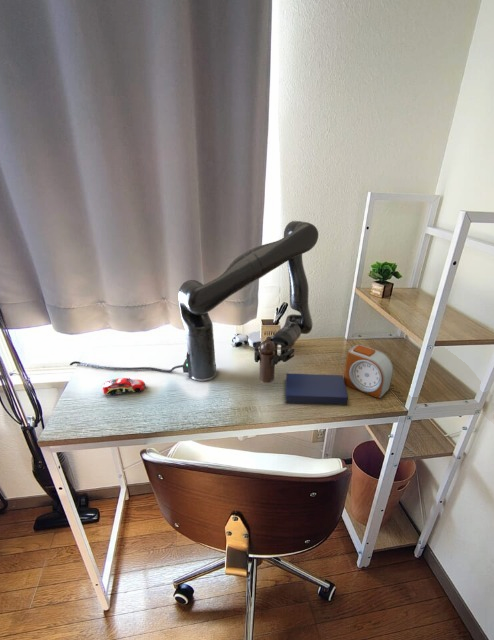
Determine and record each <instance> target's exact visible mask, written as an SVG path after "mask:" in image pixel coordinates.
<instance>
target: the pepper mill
mask: <svg viewBox="0 0 494 640" xmlns="http://www.w3.org/2000/svg"><path fill="white" fill-rule="evenodd" d="M270 339H271V337H270V336H268V337H266V339H265V341H263V342H262V343H261V346H259V348H258V349H259V350H260V360H259V370H258V371H259V373H258V374H259V381H260V382H261V383H264V384H269V383H272V382H274V381H275V372H276V371H275V370H276V365H274V366H271V360H272V359H273V358H274V357H275V351H274V349H275V345H274V343H273V342H272V341H270Z"/></svg>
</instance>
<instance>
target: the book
mask: <svg viewBox="0 0 494 640" xmlns="http://www.w3.org/2000/svg"><path fill="white" fill-rule="evenodd" d="M285 377H286V380H285V404H302V405H305V404H306V405H331V406H332V405H335V406H348V401H349V395H348V390H347V386H346V385H345V383H344V374H341V375H340V374H338V375H337V374H317V373H316V374H314V373H313V374H312V373H289V372H288V373H286V376H285Z"/></svg>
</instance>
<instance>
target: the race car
mask: <svg viewBox="0 0 494 640" xmlns="http://www.w3.org/2000/svg"><path fill="white" fill-rule="evenodd" d="M102 385H103V386H102V391H103V394H105V395H110V396H115V395H119V394H120V395H121V394H128V393H140V392H142V391H143V390H145V388H146V383H145V381H143V379H137V378H135V379H134V378H130V377H119V378H113V379H110V380H107V381H105V382H104V383H103V384H102Z"/></svg>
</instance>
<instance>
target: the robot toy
mask: <svg viewBox="0 0 494 640" xmlns="http://www.w3.org/2000/svg"><path fill="white" fill-rule="evenodd" d="M260 332H261V331H252V332H251V333H250V334H249V335H248V334H243V333H234V334H233V338H232V339H231V342H232V343H231V346H230V347H231V348H235V349H236V348H242V347H245V346H249V347H250V348H253V349H254V348H255V346H256V344H257V342H258V341H260V342H261V338H260ZM236 334H237V335H236Z"/></svg>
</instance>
